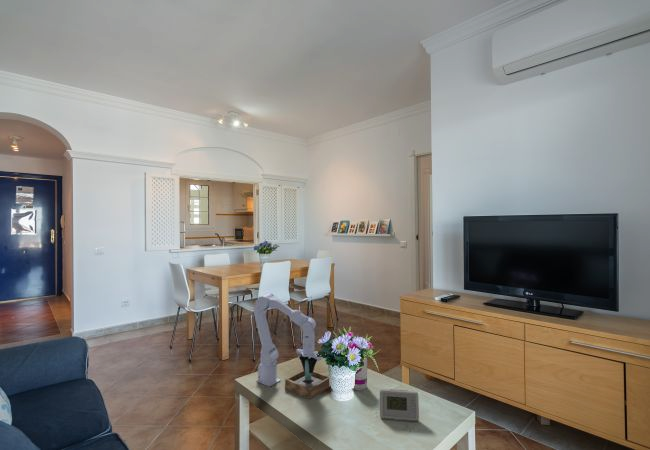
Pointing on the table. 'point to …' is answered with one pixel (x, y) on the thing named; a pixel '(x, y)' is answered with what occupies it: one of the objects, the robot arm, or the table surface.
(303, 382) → the box
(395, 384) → the table surface
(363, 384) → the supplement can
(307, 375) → the peg
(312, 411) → the table surface
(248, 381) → the table surface
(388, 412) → the digital clock
